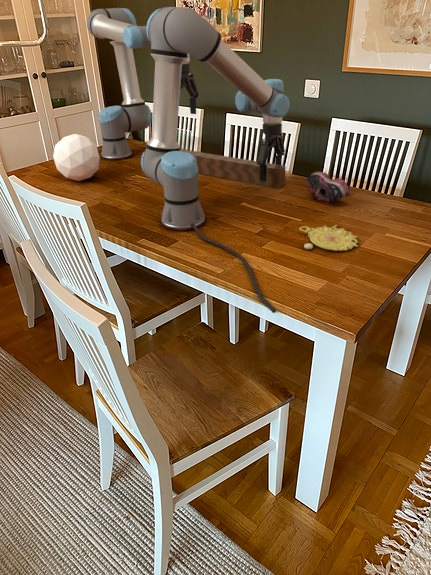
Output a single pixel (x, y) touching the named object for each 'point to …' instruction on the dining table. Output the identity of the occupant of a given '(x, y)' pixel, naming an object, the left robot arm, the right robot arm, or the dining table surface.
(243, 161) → the beam
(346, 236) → the decorative object
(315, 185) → the athletic shoe
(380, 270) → the dining table surface
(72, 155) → the sphere
